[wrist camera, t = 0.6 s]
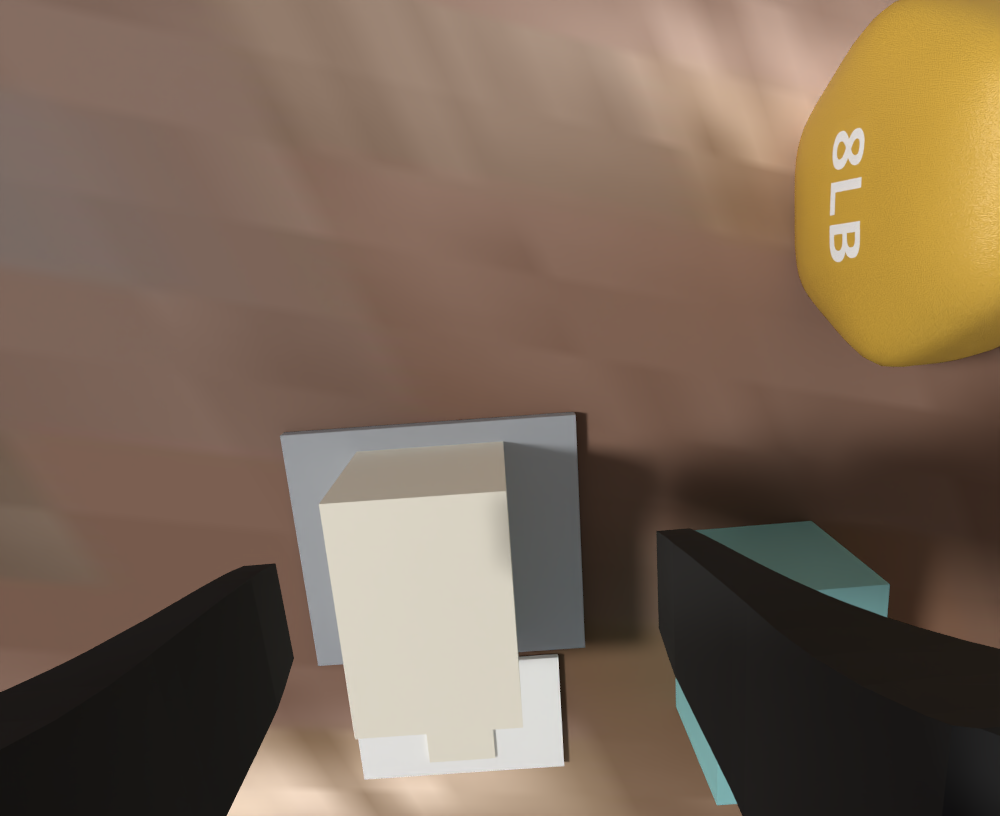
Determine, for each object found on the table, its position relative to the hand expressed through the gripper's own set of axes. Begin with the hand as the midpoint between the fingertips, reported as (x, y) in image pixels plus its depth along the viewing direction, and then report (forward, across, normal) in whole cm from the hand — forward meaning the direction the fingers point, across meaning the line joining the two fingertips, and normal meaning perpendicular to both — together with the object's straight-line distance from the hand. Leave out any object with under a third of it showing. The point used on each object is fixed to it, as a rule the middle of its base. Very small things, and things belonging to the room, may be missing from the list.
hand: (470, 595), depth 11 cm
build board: (+10, +2, +4) cm, 11 cm away
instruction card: (+10, +2, +11) cm, 15 cm away
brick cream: (+9, +2, +4) cm, 10 cm away
